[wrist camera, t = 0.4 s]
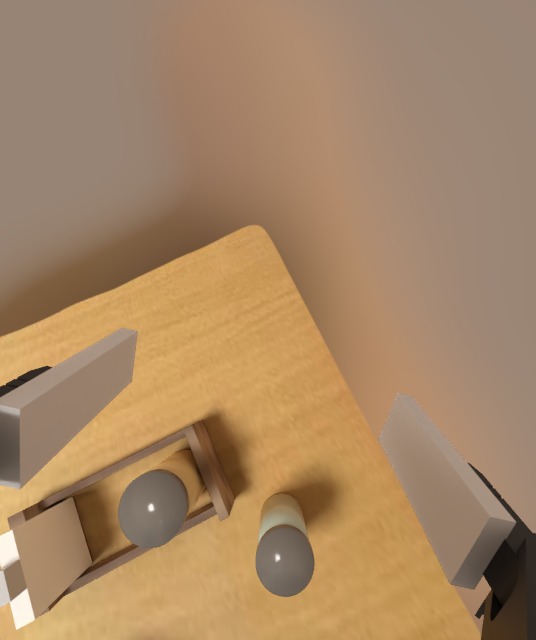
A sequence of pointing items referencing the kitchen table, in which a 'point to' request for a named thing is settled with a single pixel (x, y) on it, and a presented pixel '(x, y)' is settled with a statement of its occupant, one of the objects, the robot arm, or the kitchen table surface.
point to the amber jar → (161, 500)
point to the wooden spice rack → (195, 437)
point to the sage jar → (283, 547)
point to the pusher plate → (41, 561)
